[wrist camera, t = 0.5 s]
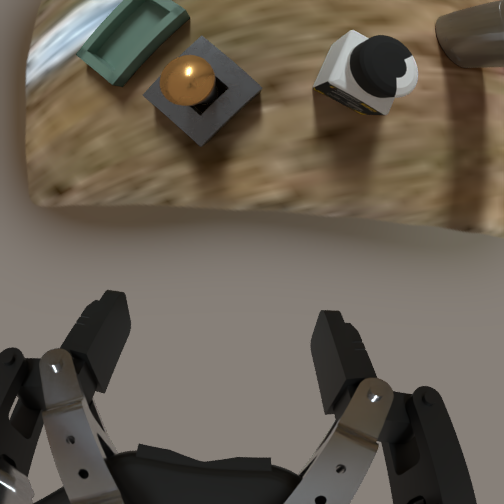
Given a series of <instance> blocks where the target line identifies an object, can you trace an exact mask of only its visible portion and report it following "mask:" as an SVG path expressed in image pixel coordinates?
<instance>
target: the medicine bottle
mask: <svg viewBox="0 0 504 504" xmlns="http://www.w3.org/2000/svg"><path fill="white" fill-rule="evenodd" d="M417 80H418V69H417V65H416V62H415V59H414V57H413V55H412V54H411V52H410V51H409V50H408V49H407V47H405V46H404V45H403V44H402V43H401V42H399V41H398V40H396V39H394V38H392V37H389V36H384V35H378V36H373V37H371V38H369V39H368V38H367V37H365V36H363V35H362V34H360V33H358V32H356V31H354V30H350V31H349V32H348V33H346V34H345V35H344V36H342V37H341V38H340V39H338V40H337V41H336V42H335V43H333V44H332V45H331V47H330V50H329V52H328V54H327V56H326V59H325V61H324V63H323V65H322V67H321V70H320V72H319V74H318V76H317V79H316V81H315V83H314V85H313V89H314V90H315V91H317V92H319V93H322V94H324V95H326V96H328V97H330V98H332V99H333V100H335V101H337V102H339V103H341V104H343V105H345V106H347V107H349V108H350V109H352V110H354V111H356V112H357V113H359V114H362V115H387V114H388V113H389V110H390V108H391V106H392V103H393V101H394V98H396V97H403V96H406V95H408V94H409V93H411V92H412V91H413V89H414V88H415V86H416V84H417Z"/></svg>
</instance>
